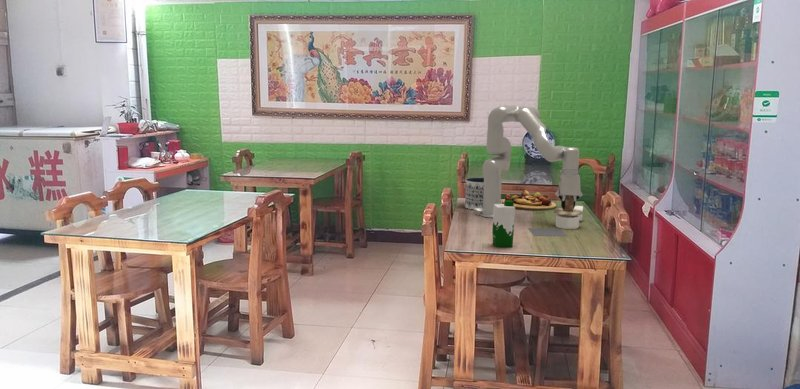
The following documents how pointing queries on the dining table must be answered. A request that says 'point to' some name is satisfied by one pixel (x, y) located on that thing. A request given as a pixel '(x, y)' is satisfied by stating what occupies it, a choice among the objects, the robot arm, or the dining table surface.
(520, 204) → the wooden plate with food
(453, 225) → the dining table surface
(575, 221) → the bowl
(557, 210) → the lid
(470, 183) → the planter
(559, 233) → the mat
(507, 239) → the milk carton
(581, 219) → the mug
